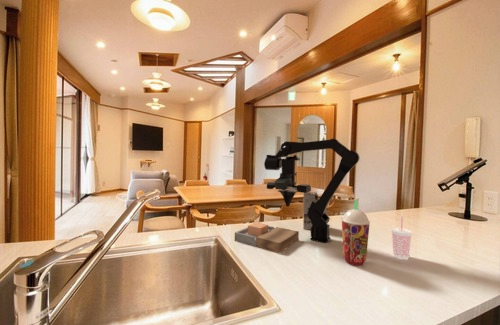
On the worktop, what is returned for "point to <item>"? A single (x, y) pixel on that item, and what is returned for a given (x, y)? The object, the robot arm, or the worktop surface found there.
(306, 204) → the coffee box
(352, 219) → the smoothie
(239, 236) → the box
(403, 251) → the beverage cup
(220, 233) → the worktop surface
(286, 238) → the board
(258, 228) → the salmon pink block
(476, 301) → the worktop surface
